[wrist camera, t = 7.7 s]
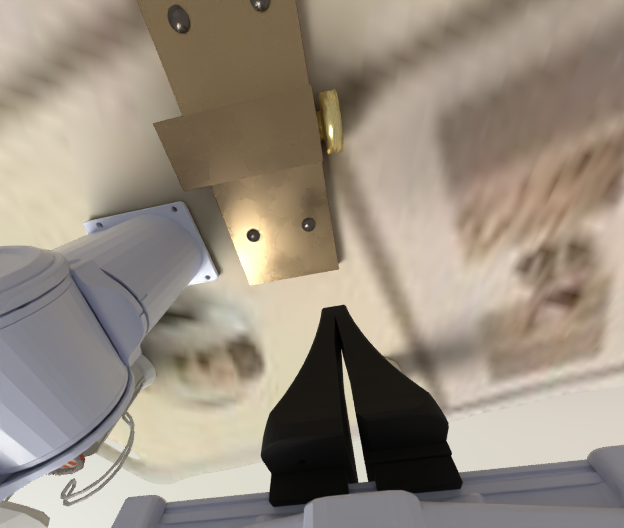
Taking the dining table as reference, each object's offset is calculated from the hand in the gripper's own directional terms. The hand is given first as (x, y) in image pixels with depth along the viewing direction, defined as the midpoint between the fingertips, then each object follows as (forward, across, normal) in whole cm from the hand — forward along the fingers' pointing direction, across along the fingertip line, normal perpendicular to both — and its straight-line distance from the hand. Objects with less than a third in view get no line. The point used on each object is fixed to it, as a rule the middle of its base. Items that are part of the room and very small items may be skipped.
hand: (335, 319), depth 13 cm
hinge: (+10, +4, -10) cm, 15 cm away
